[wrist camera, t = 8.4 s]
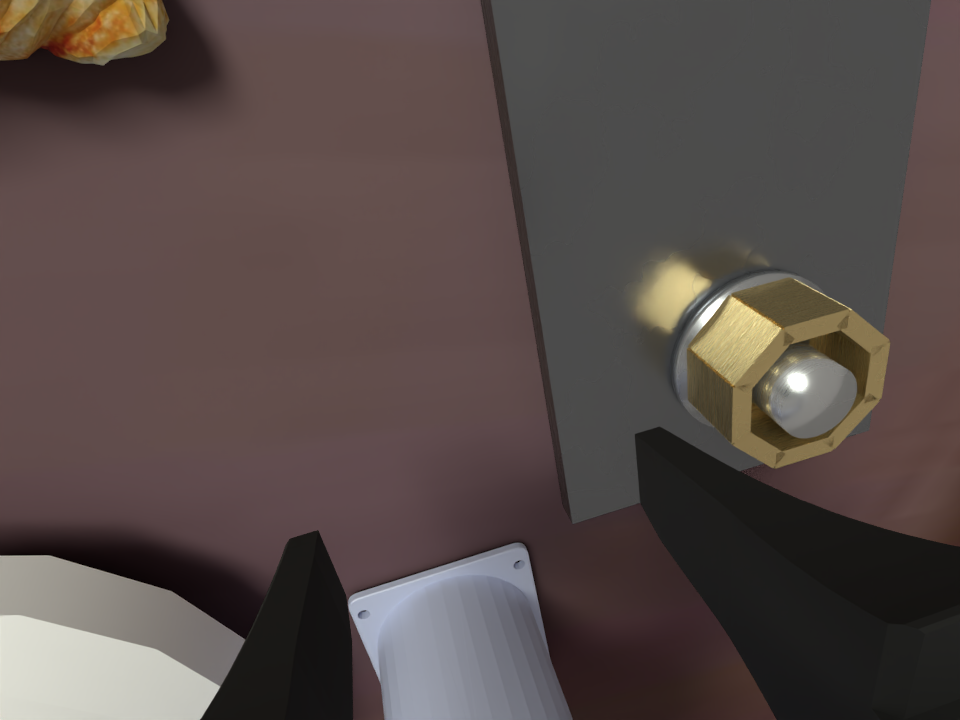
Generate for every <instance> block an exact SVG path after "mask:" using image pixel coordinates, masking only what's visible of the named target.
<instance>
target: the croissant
mask: <svg viewBox="0 0 960 720" xmlns="http://www.w3.org/2000/svg"><path fill="white" fill-rule="evenodd" d="M168 22H169V18H168V15H167V13H166V10H165V7H164V4H163V2H162V0H0V60H19V59H26V58H28V57H29V56H30V55H31V54H32V53H33V52H35V51H36V50H37V49H39V48H43V49H46V50H49V51H50V52H51V53H52V54H54V55H55V56H57V57H61V58H64V59H68V60H71V61H75V62H78V63H82V64H89V63H93V64H98V65H105V64H106V63H107V62H108V61H110V60H112V59H119V58H126V57H129V58H131V57H136V56H140V55H144V54H147V53H150V52H152V51H153V50H154V49H155V48H157V47H158V46H159V45H160V44H161V43H162V42H164V41H165V40H166V34H165V33H166V31H167V27H166V26H167V24H168Z"/></svg>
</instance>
